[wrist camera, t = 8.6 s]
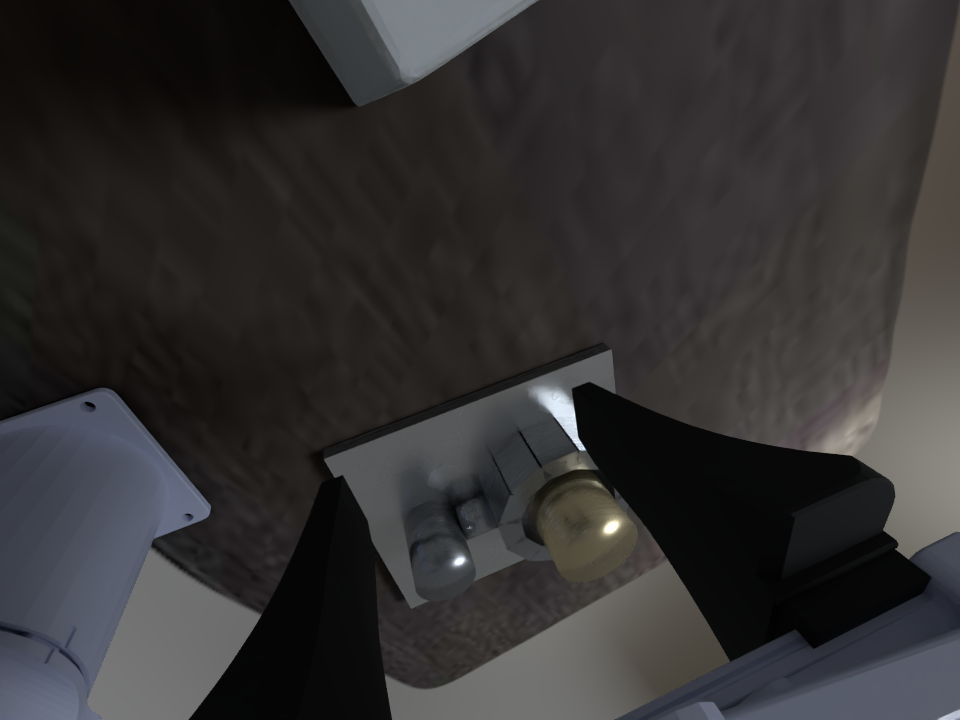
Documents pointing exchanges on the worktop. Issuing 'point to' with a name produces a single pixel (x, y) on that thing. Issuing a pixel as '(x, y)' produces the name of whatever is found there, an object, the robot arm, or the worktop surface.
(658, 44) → the worktop surface
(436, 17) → the small box
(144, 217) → the worktop surface
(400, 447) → the manifold plate
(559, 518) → the brass rounded plug
